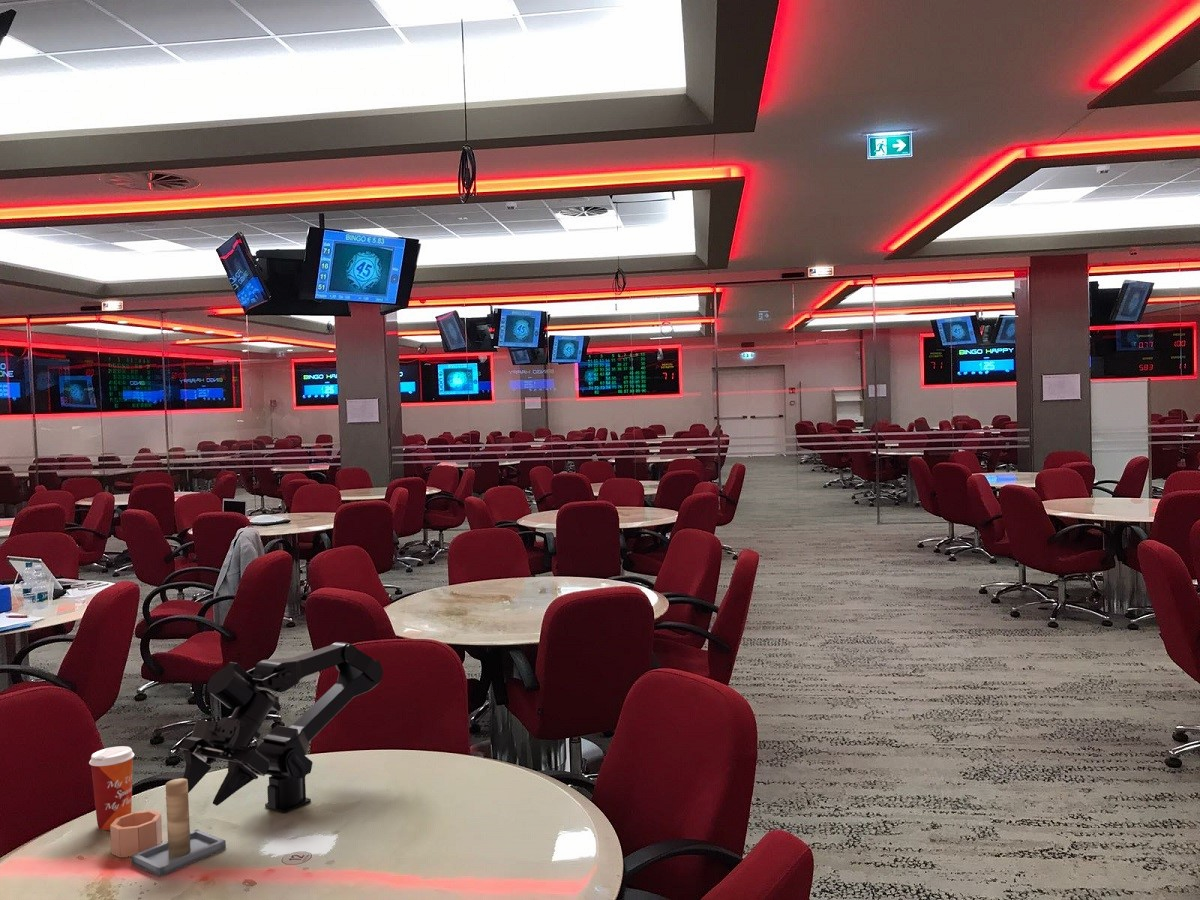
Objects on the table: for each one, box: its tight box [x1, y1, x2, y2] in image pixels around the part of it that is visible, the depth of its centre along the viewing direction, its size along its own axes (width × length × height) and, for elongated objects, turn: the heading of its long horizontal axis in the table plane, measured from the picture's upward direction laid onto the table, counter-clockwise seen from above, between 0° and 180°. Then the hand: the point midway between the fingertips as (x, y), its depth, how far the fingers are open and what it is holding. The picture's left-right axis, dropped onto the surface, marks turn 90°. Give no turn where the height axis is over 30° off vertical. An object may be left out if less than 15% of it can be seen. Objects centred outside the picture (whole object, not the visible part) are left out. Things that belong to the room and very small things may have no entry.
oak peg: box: [165, 777, 191, 858], centre depth 154 cm, size 4×4×12 cm
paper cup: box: [88, 745, 135, 831], centre depth 169 cm, size 8×8×14 cm
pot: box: [109, 809, 163, 858], centre depth 158 cm, size 8×8×5 cm
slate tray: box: [131, 829, 227, 878], centre depth 154 cm, size 12×9×2 cm
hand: (197, 800), depth 158 cm, fingers open, 9 cm apart
